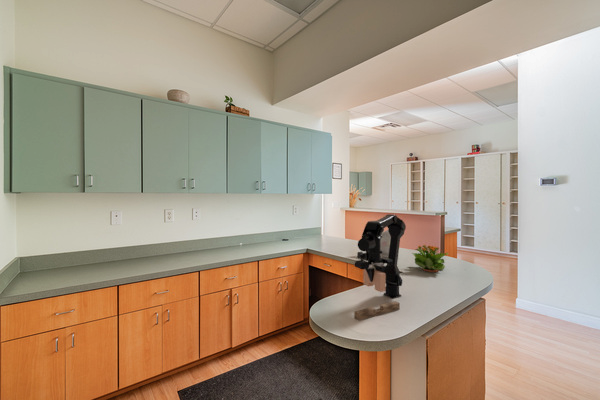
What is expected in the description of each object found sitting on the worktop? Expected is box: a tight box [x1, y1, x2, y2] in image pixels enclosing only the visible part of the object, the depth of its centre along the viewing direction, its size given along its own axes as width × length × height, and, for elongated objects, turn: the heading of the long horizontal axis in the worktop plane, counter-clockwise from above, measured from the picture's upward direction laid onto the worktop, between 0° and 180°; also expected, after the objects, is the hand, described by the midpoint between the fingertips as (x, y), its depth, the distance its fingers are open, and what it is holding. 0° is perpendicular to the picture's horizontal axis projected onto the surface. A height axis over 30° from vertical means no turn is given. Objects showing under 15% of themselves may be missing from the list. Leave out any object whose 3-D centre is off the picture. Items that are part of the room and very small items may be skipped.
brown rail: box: [353, 300, 400, 321], centre depth 122 cm, size 24×2×3 cm, turn 117°
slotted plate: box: [362, 269, 386, 293], centre depth 129 cm, size 3×12×8 cm, turn 25°
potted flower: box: [412, 244, 449, 273], centre depth 189 cm, size 25×24×18 cm
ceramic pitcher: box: [380, 229, 391, 258], centre depth 234 cm, size 22×20×25 cm
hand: (374, 281), depth 129 cm, fingers closed on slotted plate, 3 cm apart
